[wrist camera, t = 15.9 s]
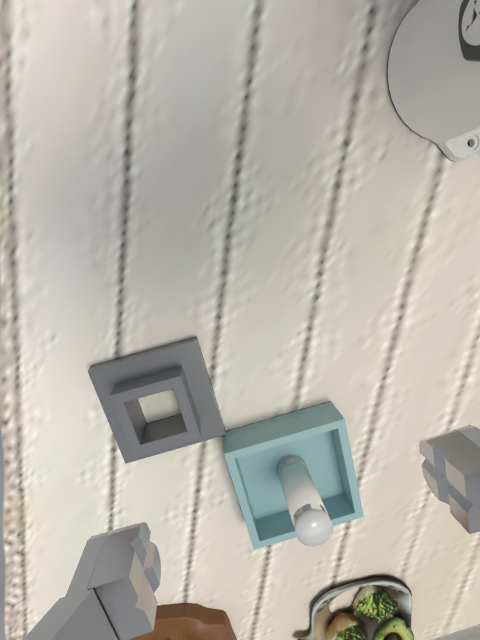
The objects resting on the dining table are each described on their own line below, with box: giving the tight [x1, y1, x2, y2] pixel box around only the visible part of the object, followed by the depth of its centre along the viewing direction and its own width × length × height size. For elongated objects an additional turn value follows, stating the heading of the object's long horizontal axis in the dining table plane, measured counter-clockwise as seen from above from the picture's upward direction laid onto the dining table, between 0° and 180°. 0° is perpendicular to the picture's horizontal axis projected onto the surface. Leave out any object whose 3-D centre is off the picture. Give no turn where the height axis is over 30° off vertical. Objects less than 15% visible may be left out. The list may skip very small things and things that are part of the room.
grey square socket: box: [88, 337, 225, 463], centre depth 40 cm, size 13×13×4 cm
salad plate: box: [298, 577, 414, 640], centre depth 53 cm, size 19×18×5 cm
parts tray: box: [223, 401, 364, 550], centre depth 44 cm, size 15×15×4 cm
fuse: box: [277, 455, 333, 546], centre depth 40 cm, size 4×4×10 cm
